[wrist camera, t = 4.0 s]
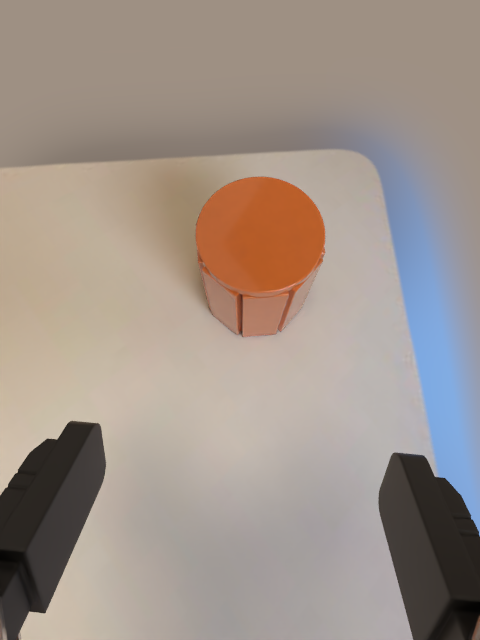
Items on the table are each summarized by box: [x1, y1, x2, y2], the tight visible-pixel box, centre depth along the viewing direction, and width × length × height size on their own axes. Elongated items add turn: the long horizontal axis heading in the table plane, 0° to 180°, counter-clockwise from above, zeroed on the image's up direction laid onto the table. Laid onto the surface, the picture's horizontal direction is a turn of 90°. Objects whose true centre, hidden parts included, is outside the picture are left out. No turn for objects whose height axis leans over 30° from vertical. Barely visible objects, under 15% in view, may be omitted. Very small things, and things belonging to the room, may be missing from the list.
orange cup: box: [196, 177, 325, 337], centre depth 23 cm, size 6×6×8 cm
